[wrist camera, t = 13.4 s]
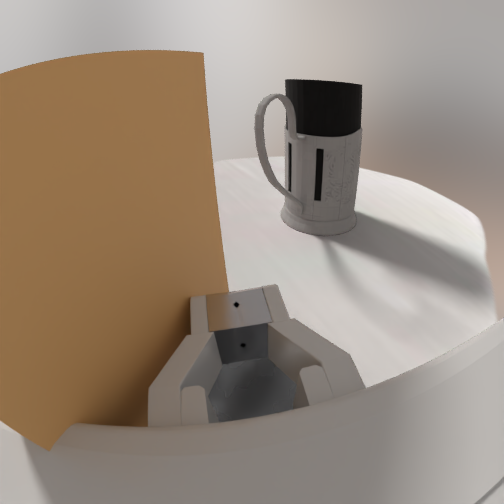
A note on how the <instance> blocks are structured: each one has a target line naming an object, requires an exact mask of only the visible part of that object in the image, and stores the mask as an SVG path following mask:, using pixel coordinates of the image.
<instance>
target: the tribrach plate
mask: <svg viewBox="0 0 504 504" xmlns="http://www.w3.org/2000/svg"><path fill="white" fill-rule="evenodd" d="M296 388H297V384H296V383H295V382H294V381H292V380H291V379H290V378H289V377H288V376H287V375H286V374H285V373H284V372H283V371H281V370H280V369H279V368H278V367H277V366H276V365H275V364H274V363H273V362H272V361H271V360H270V359H269V358H268V357H266V358H260V359H253V360H246V361H240V362H235V363H229V364H223V365H222V368H221V370H220V372H219V374H218V376H217V378H216V380H215V383H214V385H213V387H212V389H211V391H210V393H209V395H208V398H209V400H210V402H211V404H212V406H213V409H214V411H215V413H216V415H217V417H218V421H219V422H226V421H234V420H241V419H247V418H253V417H259V416H265V415H270V414H275V413H280V412H284V411H289V410H293V409H294V408H293V402H294V397H295V393H296Z"/></svg>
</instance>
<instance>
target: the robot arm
mask: <svg viewBox="0 0 504 504" xmlns="http://www.w3.org/2000/svg"><path fill="white" fill-rule="evenodd" d="M190 317H191V335H186V337H185V338H184V340H183V341H182V342H181V344H180V345H179V347H178V348H177V349H176V351H175V352H174V353H173V355H172V356H171V358H170V359H169V360H168V362H167V363H166V365H165V366H164V367H163V369H162V370H161V372H160V373H159V374H158V376H157V377H156V379H155V380H154V381H153V383H152V384H151V386H150V387H149V395H148V427H134V426H110V425H97V424H86V423H75V424H73V425H71V426H70V427H69V428H68V429H67V430H66V431H65V432H64V433H63V434H62V435H61V437H60V438H59V439H58V440H57V441H56V442H55V443H54V445H53V446H52V448H51V450H50V451H48V450H46V449H44V448H42V447H40V446H39V445H37V444H35V443H33V442H32V441H30V440H28V439H27V438H25V437H24V436H22V435H21V434H19V433H17V432H16V431H14V430H13V429H11V428H10V427H9V426H7V425H6V424H4V423H3V422H1V421H0V504H504V318H502V319H501V320H499V321H498V322H496V323H495V324H493V325H492V326H490V327H489V328H487V329H486V330H484V331H483V332H481V333H480V334H478V335H476V336H475V337H473V338H471V339H470V340H468V341H466V342H465V343H463V344H461V345H459V346H458V347H456V348H454V349H452V350H450V351H448V352H447V353H445V354H443V355H441V356H439V357H437V358H435V359H433V360H431V361H429V362H427V363H425V364H423V365H421V366H418V367H416V368H414V369H412V370H410V371H407V372H405V373H403V374H400V375H398V376H396V377H393V378H391V379H388V380H386V381H383V382H381V383H378V384H376V385H373V386H370V387H367V388H365V385H364V383H363V381H362V379H361V377H360V375H359V373H358V370H357V368H356V366H355V364H354V362H353V360H352V358H351V356H350V354H348V353H347V352H345V351H344V350H342V349H340V348H339V347H337V346H336V345H334V344H333V343H331V342H330V341H328V340H327V339H325V338H323V337H322V336H320V335H319V334H317V333H316V332H314V331H313V330H311V329H310V328H308V327H307V326H305V325H304V324H302V323H301V322H299V321H298V320H296V319H295V318H294V319H290V317H289V315H288V312H287V309H286V307H285V304H284V301H283V299H282V296H281V294H280V291H279V288H278V286H277V285H276V284H274V285H268V286H262V287H257V288H251V289H245V290H239V291H233V292H225V293H217V294H208V295H203V296H193V297H191V299H190ZM266 357H268V358H269V359H270V360H271V361H272V362H273V363H274V364H275V365H276V366H277V367H278V368H279V369H280V370H281V371H283V372H284V373H285V374H286V375H287V376H288V377H289V378H290V379H291V380H292V381H294V382H295V383H296V384H297V388H296V393H295V397H294V402H293V408H294V409H293V410H289V411H284V412H280V413H275V414H270V415H265V416H259V417H253V418H247V419H241V420H234V421H226V422H219V421H218V417H217V415H216V413H215V411H214V409H213V406H212V404H211V402H210V400H209V398H208V395H209V393H210V391H211V389H212V387H213V385H214V383H215V380H216V378H217V376H218V374H219V372H220V370H221V368H222V365H223V364H229V363H235V362H240V361H246V360H253V359H260V358H266Z"/></svg>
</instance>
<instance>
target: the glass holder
mask: <svg viewBox="0 0 504 504" xmlns="http://www.w3.org/2000/svg"><path fill="white" fill-rule="evenodd" d="M285 87H286V96H284V95H282V94H270V95H269V96H267V97H265V98H263V100H262V101H261V102H260V103H259V105H258V108H257V111H256V114H255V138H256V147H257V151H258V156H259V160H260V163H261V165H262V168H263V170H264V173H265V175H266V177H267V179H268V181H269V182H270V183H271V184H272V185H273V186H274V187H275V188H276V189H277V190H279V191H280V192H281V193H282V194H283V195H285V203H284V206H283V208H282V210H281V218H282V220H283V222H284V223H286V224H287V225H288V226H289V227H291V228H293V229H295V230H297V231H300V232H303V233H307V234H312V235H321V236H330V235H338V234H342V233H345V232H347V231H349V230H351V229H352V228H353V227H354V226H355V224H356V215H355V213H354V206H355V199H356V191H357V182H358V173H359V164H360V152H361V139H362V128H361V109H362V85H359V84H353V83H345V82H335V81H321V80H297V79H296V80H295V79H287V80H285ZM275 98H278V99H279V100H281V101H282V103H283V105H284V106H285V109H286V125H285V189H284V188H283V187H282V186H281V184H280V183H279V182H278V181H277V179H276V177H275V175H274V173H273V171H272V169H271V166H270V163H269V161H268V157H267V153H266V148H265V140H264V129H263V128H264V114H265V111H266V108H267V106H268V105H269V103H270V102H271V101H272V100H274V99H275Z"/></svg>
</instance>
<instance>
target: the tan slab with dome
mask: <svg viewBox="0 0 504 504" xmlns="http://www.w3.org/2000/svg"><path fill="white" fill-rule="evenodd" d="M225 292H229V289H228V282H227V275H226V267H225V260H224V252H223V245H222V237H221V229H220V221H219V212H218V204H217V195H216V186H215V177H214V168H213V159H212V149H211V139H210V129H209V118H208V106H207V95H206V83H205V69H204V56H203V53H201V52H188V51H167V50H136V51H135V50H133V51H115V52H102V53H93V54H85V55H77V56H71V57H65V58H59V59H54V60H50V61H45V62H40V63H36V64H32V65H28V66H25V67H21V68H18V69H14V70H11V71H8V72H5V73H2V74H0V421H1V422H3V423H4V424H6V425H7V426H9V427H10V428H11V429H13V430H14V431H16V432H17V433H19V434H21V435H22V436H24V437H25V438H27V439H28V440H30V441H32V442H33V443H35V444H37V445H39V446H40V447H42V448H44V449H46V450H48V451H50V450H51V448H52V446H53V445H54V443H55V442H56V441H57V440H58V439H59V438H60V437H61V435H62V434H63V433H64V432H65V431H66V430H67V429H68V428H69V427H70V426H71V425H73V424H75V423H86V424H97V425H110V426H134V427H148V395H149V387H150V386H151V384H152V383H153V381H154V380H155V379H156V377H157V376H158V374H159V373H160V372H161V370H162V369H163V367H164V366H165V365H166V363H167V362H168V360H169V359H170V358H171V356H172V355H173V353H174V352H175V351H176V349H177V348H178V347H179V345H180V344H181V342H182V341H183V340H184V338H185V337H186V335H191V317H190V299H191V297H193V296H203V295H208V294H217V293H225Z"/></svg>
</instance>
